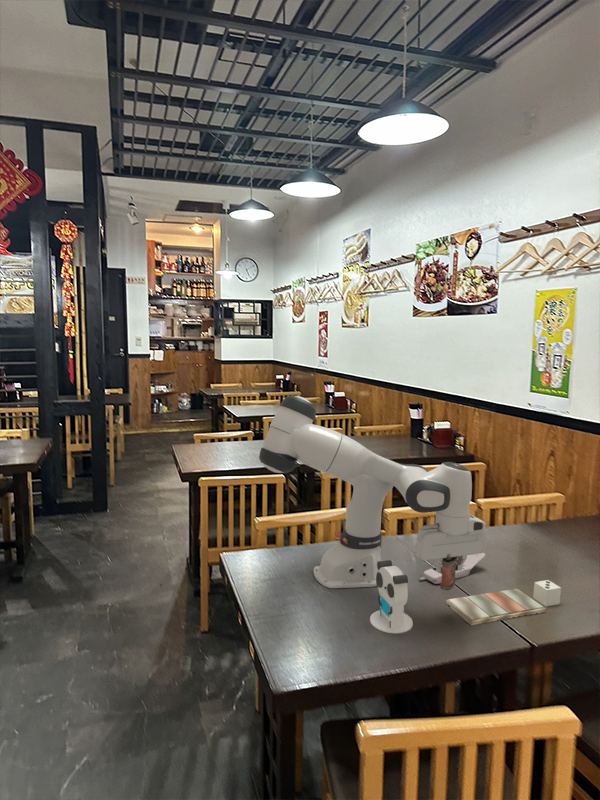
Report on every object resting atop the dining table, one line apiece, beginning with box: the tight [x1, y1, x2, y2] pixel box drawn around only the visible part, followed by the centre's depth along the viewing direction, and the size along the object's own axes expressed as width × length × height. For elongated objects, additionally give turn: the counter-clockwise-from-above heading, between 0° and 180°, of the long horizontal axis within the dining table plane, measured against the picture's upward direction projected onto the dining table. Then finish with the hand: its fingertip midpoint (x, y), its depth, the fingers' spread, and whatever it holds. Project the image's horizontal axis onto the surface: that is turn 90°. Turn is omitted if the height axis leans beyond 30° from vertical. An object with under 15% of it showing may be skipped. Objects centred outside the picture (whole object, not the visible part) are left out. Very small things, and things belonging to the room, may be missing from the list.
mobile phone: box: [418, 552, 487, 585], centre depth 171 cm, size 6×6×25 cm
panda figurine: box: [369, 559, 414, 634], centre depth 143 cm, size 12×11×15 cm
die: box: [532, 579, 562, 607], centre depth 156 cm, size 5×5×5 cm
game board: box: [445, 588, 547, 626], centre depth 152 cm, size 25×12×1 cm, turn 108°
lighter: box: [439, 554, 457, 592], centre depth 145 cm, size 8×3×10 cm, turn 150°
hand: (449, 571), depth 145 cm, fingers closed on lighter, 4 cm apart
